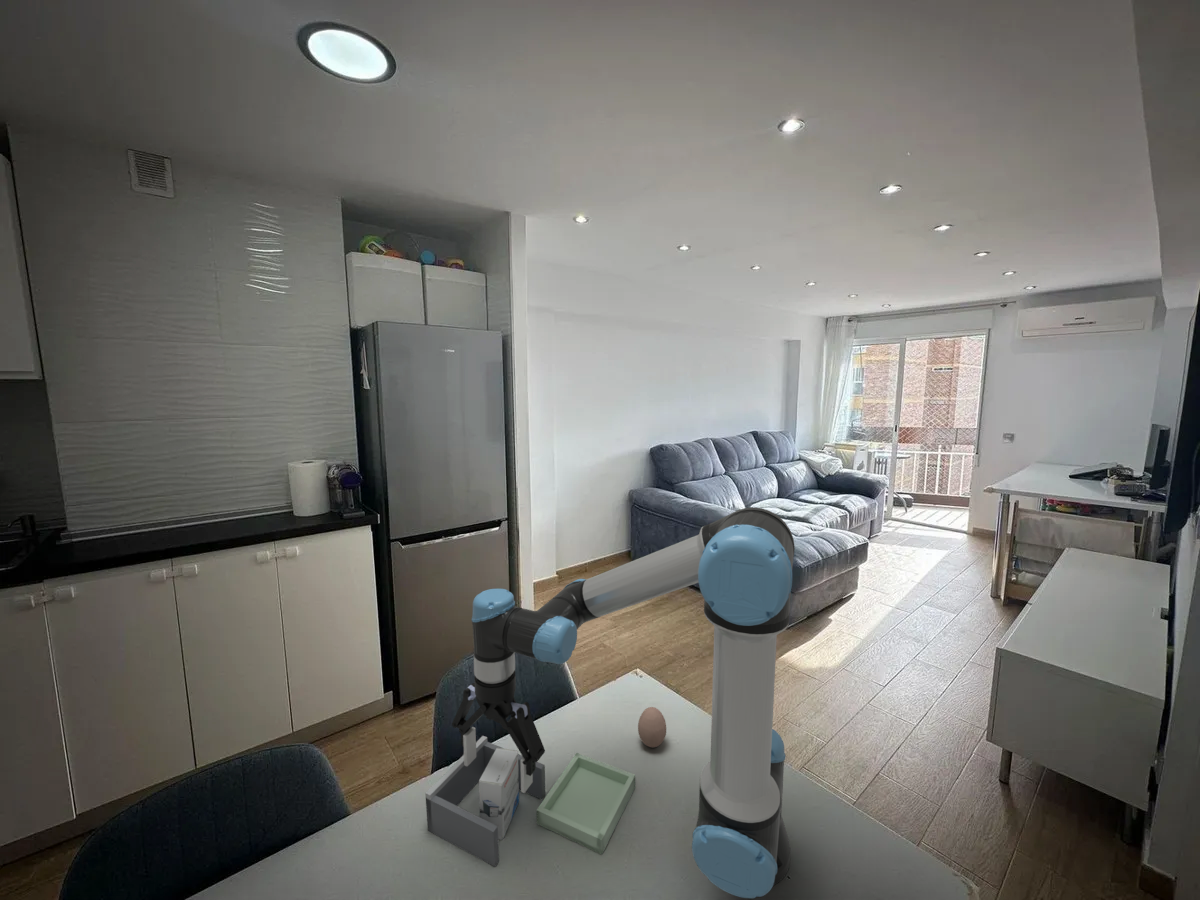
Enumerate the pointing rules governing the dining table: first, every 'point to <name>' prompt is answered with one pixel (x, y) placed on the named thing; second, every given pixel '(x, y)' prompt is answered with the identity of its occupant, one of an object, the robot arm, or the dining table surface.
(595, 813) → the tray
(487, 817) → the ink box
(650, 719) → the egg
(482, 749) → the dock
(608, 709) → the dining table surface
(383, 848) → the dining table surface
